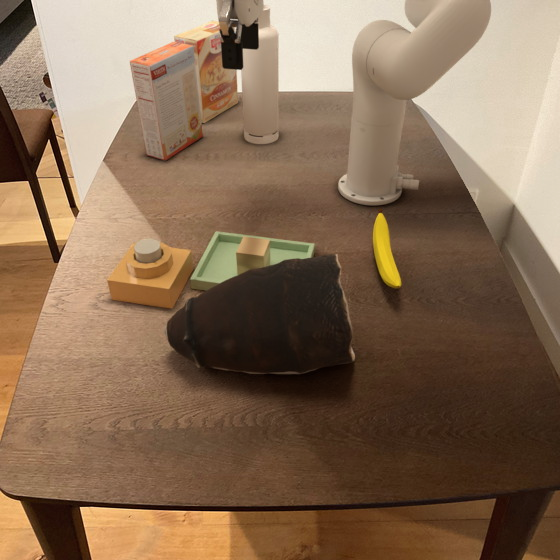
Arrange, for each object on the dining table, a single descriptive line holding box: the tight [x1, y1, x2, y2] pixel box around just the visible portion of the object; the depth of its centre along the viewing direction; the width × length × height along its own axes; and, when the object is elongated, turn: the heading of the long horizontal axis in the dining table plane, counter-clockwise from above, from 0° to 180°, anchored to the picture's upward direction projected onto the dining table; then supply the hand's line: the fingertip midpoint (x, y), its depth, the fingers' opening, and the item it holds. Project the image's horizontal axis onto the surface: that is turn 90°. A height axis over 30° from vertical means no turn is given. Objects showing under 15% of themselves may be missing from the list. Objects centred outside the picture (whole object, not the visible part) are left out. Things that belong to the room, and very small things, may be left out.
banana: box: [372, 208, 402, 289], centre depth 93 cm, size 3×19×6 cm, turn 1°
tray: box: [189, 230, 316, 292], centre depth 95 cm, size 18×14×2 cm
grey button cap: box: [134, 238, 162, 264], centre depth 89 cm, size 4×4×2 cm
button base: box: [106, 241, 195, 310], centre depth 91 cm, size 10×10×6 cm
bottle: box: [240, 4, 280, 145], centre depth 126 cm, size 8×8×28 cm
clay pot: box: [164, 253, 356, 375], centre depth 78 cm, size 15×15×25 cm
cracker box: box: [129, 41, 204, 161], centre depth 124 cm, size 14×6×21 cm, turn 149°
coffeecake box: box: [173, 20, 239, 124], centre depth 140 cm, size 15×7×20 cm, turn 149°
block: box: [236, 237, 270, 275], centre depth 94 cm, size 4×4×4 cm
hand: (241, 58), depth 92 cm, fingers open, 9 cm apart
